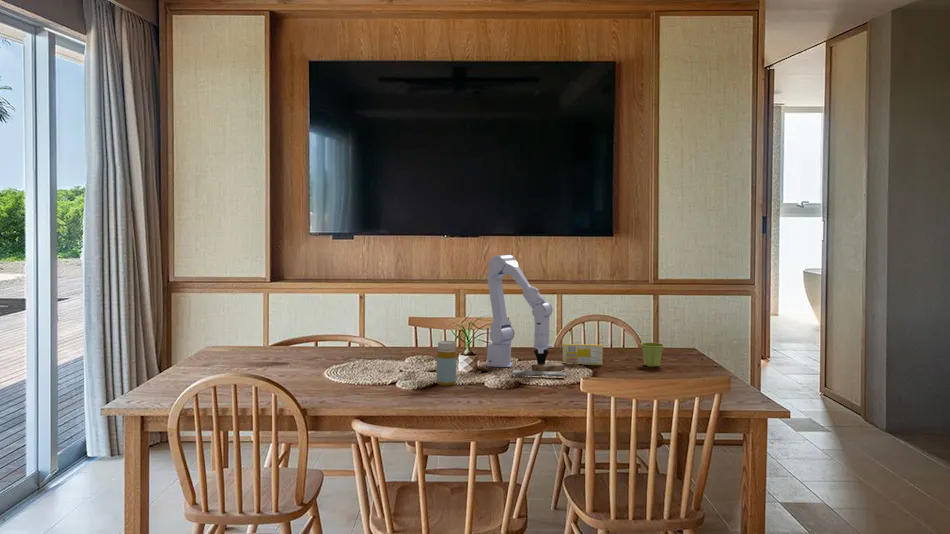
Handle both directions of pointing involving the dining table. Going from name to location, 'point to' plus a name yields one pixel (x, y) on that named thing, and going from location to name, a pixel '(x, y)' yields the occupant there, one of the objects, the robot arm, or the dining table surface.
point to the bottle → (446, 363)
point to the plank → (548, 367)
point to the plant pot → (652, 353)
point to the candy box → (583, 354)
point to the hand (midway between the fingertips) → (541, 368)
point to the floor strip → (537, 373)
